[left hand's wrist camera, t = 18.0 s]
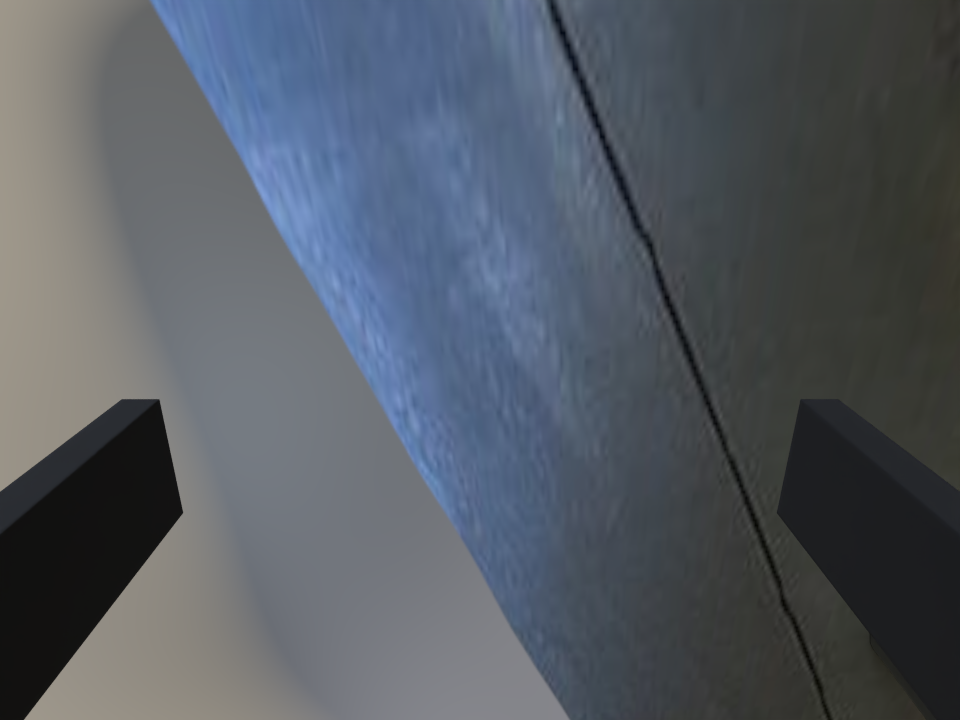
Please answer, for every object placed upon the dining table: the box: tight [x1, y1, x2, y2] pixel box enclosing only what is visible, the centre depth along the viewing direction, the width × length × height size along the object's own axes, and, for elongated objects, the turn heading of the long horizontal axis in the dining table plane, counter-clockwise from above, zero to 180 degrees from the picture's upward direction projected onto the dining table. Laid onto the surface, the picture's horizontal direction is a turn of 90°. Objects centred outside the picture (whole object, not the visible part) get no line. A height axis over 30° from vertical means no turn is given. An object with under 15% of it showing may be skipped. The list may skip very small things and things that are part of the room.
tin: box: [870, 635, 936, 720], centre depth 45 cm, size 6×6×12 cm
